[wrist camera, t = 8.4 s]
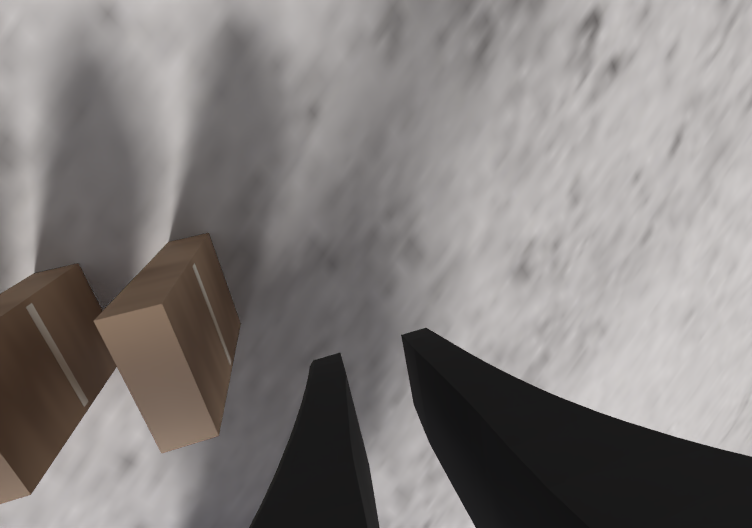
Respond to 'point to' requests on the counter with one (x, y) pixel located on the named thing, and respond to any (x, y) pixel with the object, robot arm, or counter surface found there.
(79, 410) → the domino
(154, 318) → the domino
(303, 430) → the robot arm
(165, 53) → the counter surface
